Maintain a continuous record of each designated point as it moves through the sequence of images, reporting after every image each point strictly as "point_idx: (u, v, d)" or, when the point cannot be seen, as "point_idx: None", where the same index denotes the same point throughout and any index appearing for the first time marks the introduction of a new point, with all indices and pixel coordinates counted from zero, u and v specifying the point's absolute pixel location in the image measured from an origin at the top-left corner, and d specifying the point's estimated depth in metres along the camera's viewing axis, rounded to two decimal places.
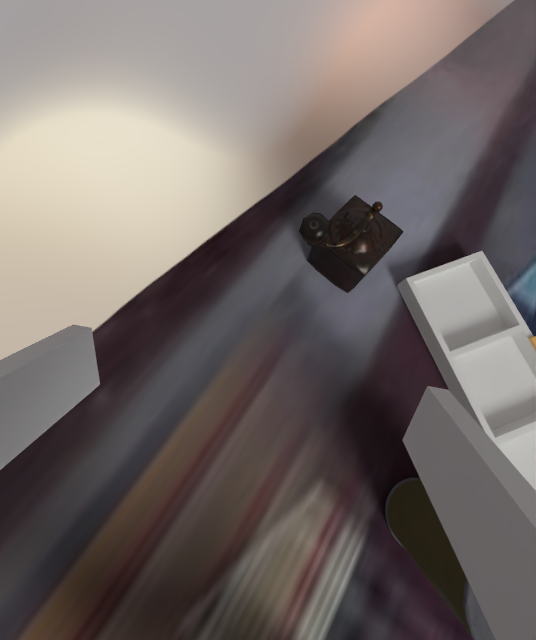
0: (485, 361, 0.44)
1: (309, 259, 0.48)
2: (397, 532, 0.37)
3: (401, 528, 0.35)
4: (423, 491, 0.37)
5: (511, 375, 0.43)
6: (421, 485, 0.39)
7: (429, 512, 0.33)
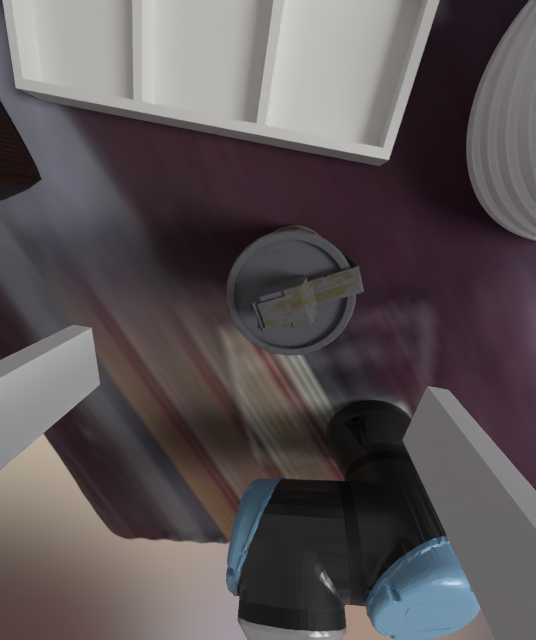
0: (180, 43, 0.28)
1: None
2: None
3: None
4: None
5: (214, 13, 0.27)
6: None
7: None
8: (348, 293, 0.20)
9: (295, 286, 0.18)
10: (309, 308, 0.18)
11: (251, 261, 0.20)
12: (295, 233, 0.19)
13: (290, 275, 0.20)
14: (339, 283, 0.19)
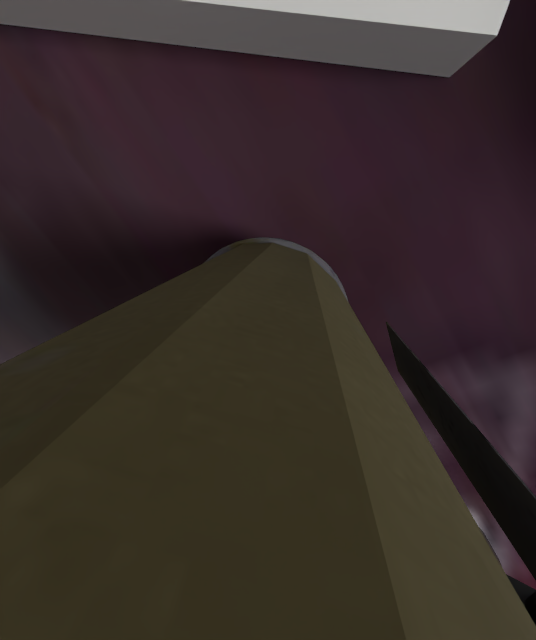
0: None
1: None
2: None
3: None
4: None
5: None
6: None
7: None
8: None
9: None
10: None
11: None
12: None
13: None
14: None
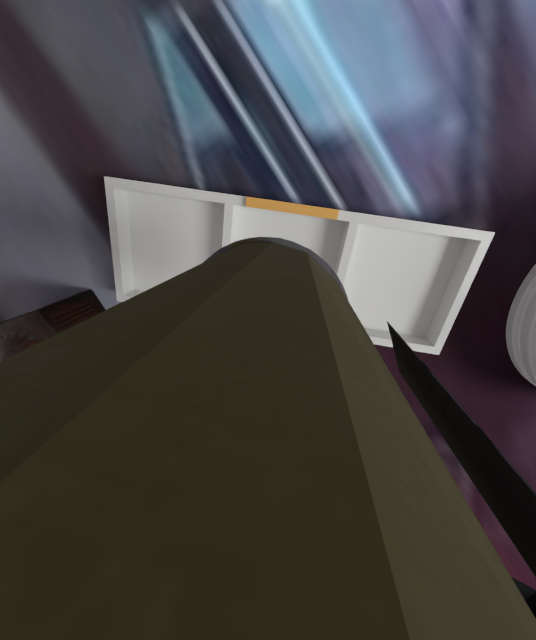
0: None
1: None
2: None
3: None
4: None
5: None
6: None
7: None
8: None
9: None
10: None
11: None
12: None
13: None
14: None
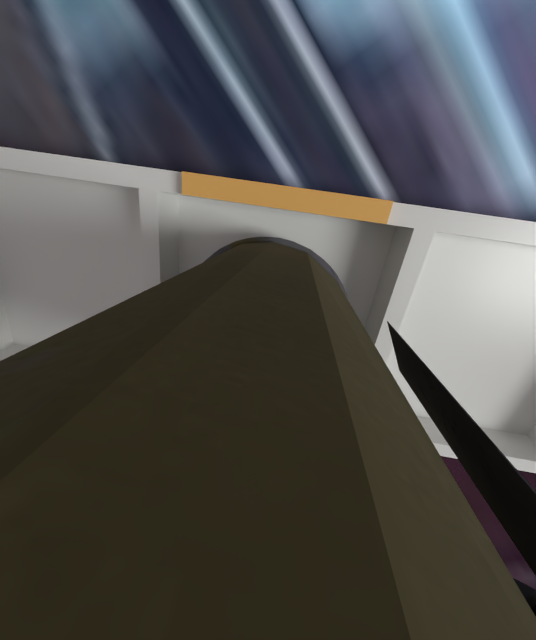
0: None
1: None
2: None
3: None
4: None
5: None
6: None
7: None
8: None
9: None
10: None
11: None
12: None
13: None
14: None
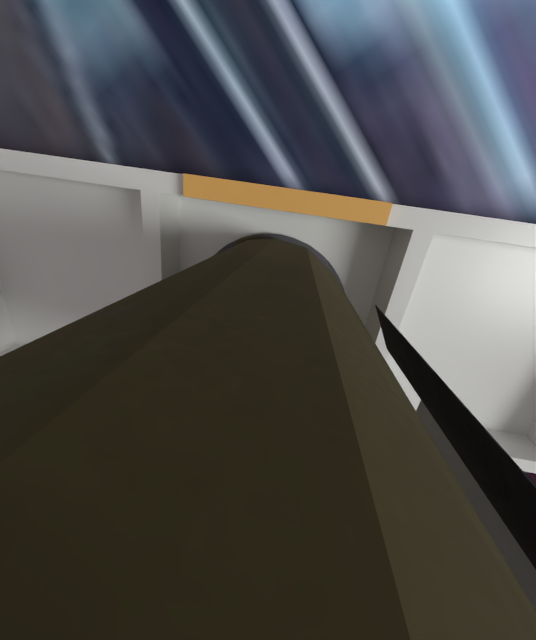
0: None
1: None
2: None
3: None
4: None
5: None
6: None
7: None
8: None
9: None
10: None
11: None
12: None
13: None
14: None
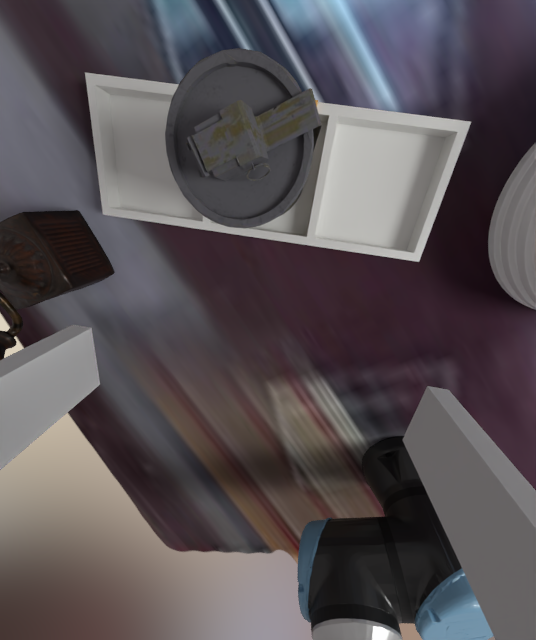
0: None
1: None
2: None
3: None
4: None
5: None
6: None
7: None
8: (303, 129, 0.17)
9: (233, 104, 0.15)
10: (253, 136, 0.15)
11: (189, 104, 0.17)
12: (233, 51, 0.16)
13: None
14: (291, 115, 0.16)
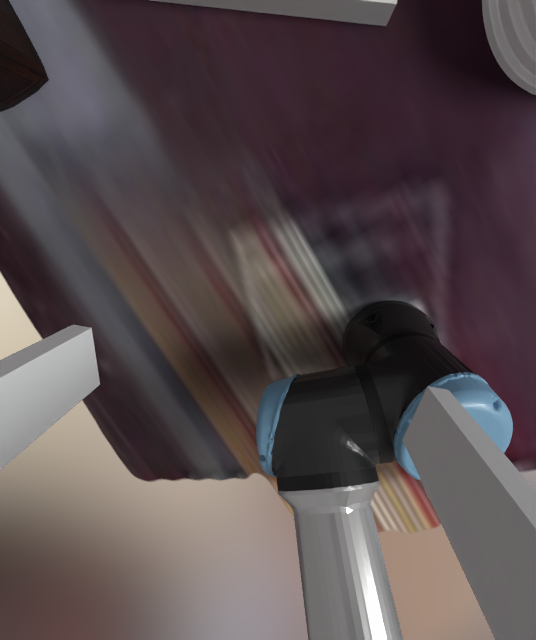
0: None
1: None
2: None
3: None
4: None
5: None
6: None
7: None
8: None
9: None
10: None
11: None
12: None
13: None
14: None
